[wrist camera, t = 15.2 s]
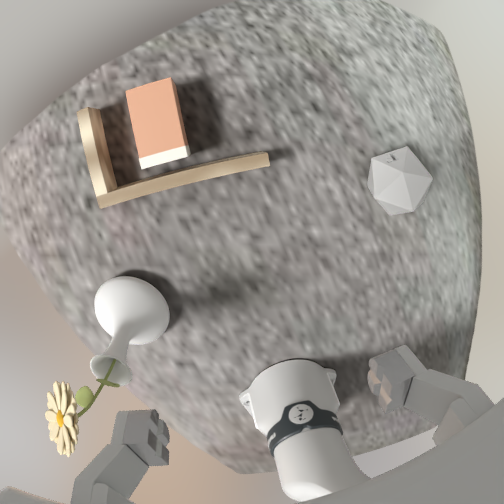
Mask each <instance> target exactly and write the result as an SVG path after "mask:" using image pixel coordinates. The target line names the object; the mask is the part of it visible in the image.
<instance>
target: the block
mask: <svg viewBox="0 0 504 504" xmlns="http://www.w3.org/2000/svg"><path fill="white" fill-rule="evenodd" d="M126 97H127V102H128V107H129V112H130V117H131V122H132V127H133V132H134V136H135V141H136V145H137V150H138V154H139V161H140V165H141V169H144V168H148V167H151V166H155V165H158V164H162V163H166V162H169V161H173V160H177V159H181V158H185V157H188V156H189V155H191V153H190V149H189V145H188V142H187V137H186V132H185V128H184V123H183V118H182V113H181V109H180V104H179V99H178V94H177V89H176V85H175V83H174V82H173V80H172V79H171V77H170V78H166V79H163V80H159V81H156V82H152V83H149V84H146V85H142V86H139V87H136V88H133V89H130V90H127V91H126Z"/></svg>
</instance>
